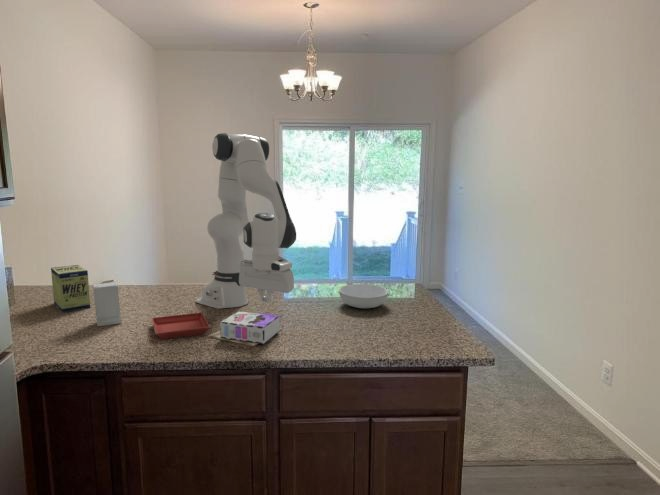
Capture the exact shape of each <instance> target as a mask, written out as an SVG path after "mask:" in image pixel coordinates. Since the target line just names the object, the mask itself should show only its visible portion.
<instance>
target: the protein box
mask: <svg viewBox="0 0 660 495" xmlns="http://www.w3.org/2000/svg"><path fill="white" fill-rule="evenodd" d="M50 271H51V281H52V283H51V284H52V295H53V303H54V305H55V306H56V308H58V310H59V311H61V313H66V312H73V311H80V310H84V309H90V308H91V300H90V299H91V298H90V297H91V296H90V286H89V285H90V284H89V273H88V270H87V269H86V268H84V267H83V266H81V265H78V264H74V265H64V266H55V267H51V268H50Z"/></svg>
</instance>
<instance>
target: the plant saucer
mask: <svg viewBox="0 0 660 495" xmlns="http://www.w3.org/2000/svg"><path fill="white" fill-rule="evenodd" d="M151 320H152V326H153V329H154V333H155V335H156V336H157V337H158V338H159V339H161V340H164V339H173V338H174V339H175V338H180V337H189V336H190V337H191V336H197V335H198V336H199V335H204V334H205V333H206V332H208V330H209V328H210V326H211V325H210V324H209V322H208V321H207V319H206V316H205V315H204V314H203V313H202V312H195V313H185V314H175V315H169V316H168V315H167V316H158V317H153V318H151Z"/></svg>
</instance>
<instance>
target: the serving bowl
mask: <svg viewBox="0 0 660 495" xmlns="http://www.w3.org/2000/svg"><path fill="white" fill-rule="evenodd" d="M338 293H339V297H340V299H341V300H342V302H343V303H344V304H346V305H347V306H350V307H353V308H357V309H365V310H366V309H371V308H377V307H380V306H381V305H383V304H384V303H385V302H386V301H387V299H388V294H389V291H388V289H387V288H385V287H383V286H380V285H374V284H367V283H366V284H365V283H355V284H347V285H343V286H341V287H339V289H338Z"/></svg>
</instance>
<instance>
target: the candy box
mask: <svg viewBox="0 0 660 495" xmlns="http://www.w3.org/2000/svg"><path fill="white" fill-rule="evenodd" d="M280 328H281V315H279V314H277V315H276V314H268V313H260V312H249V311H241V310H239V311H237V312H235V313H233V314H231V315H230V316H229V317H228V316H227V318H225V319H223V320H221V321H220V322H219V331H220V338H225V339H233V340H240V341H247V342H255V343H258V344H265V343H266V342H268V341H269V340H270V339H271V338H273V337H274V336H275V335H277V333H279V332H281V330H280Z"/></svg>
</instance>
